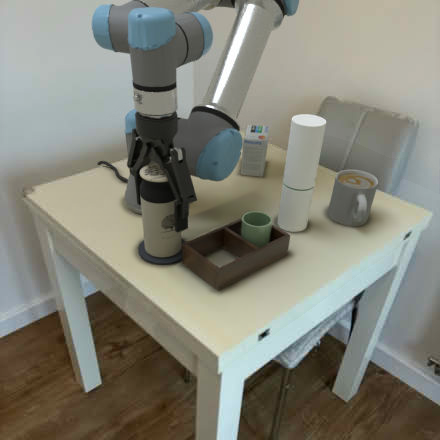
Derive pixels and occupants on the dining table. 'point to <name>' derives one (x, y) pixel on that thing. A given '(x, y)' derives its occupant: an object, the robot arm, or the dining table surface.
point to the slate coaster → (159, 260)
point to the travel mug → (158, 213)
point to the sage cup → (256, 228)
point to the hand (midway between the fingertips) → (161, 215)
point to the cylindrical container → (300, 171)
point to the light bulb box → (254, 150)
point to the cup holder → (240, 247)
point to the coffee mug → (352, 197)
